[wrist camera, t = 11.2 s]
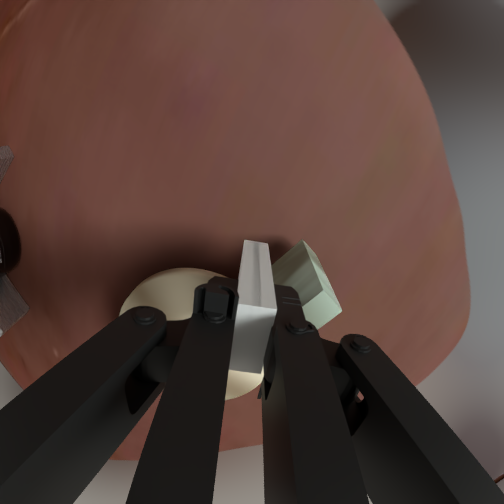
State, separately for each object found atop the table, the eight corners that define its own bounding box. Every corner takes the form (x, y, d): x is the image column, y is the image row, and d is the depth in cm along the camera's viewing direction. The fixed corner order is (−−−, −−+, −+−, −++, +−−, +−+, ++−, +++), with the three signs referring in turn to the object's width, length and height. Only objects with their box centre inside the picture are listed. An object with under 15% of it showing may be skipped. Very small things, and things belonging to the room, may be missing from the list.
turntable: (243, 177, 17) (231, 192, 10) (359, 304, 19) (393, 368, 13) (101, 326, 21) (61, 379, 14) (203, 406, 24) (191, 466, 17)
